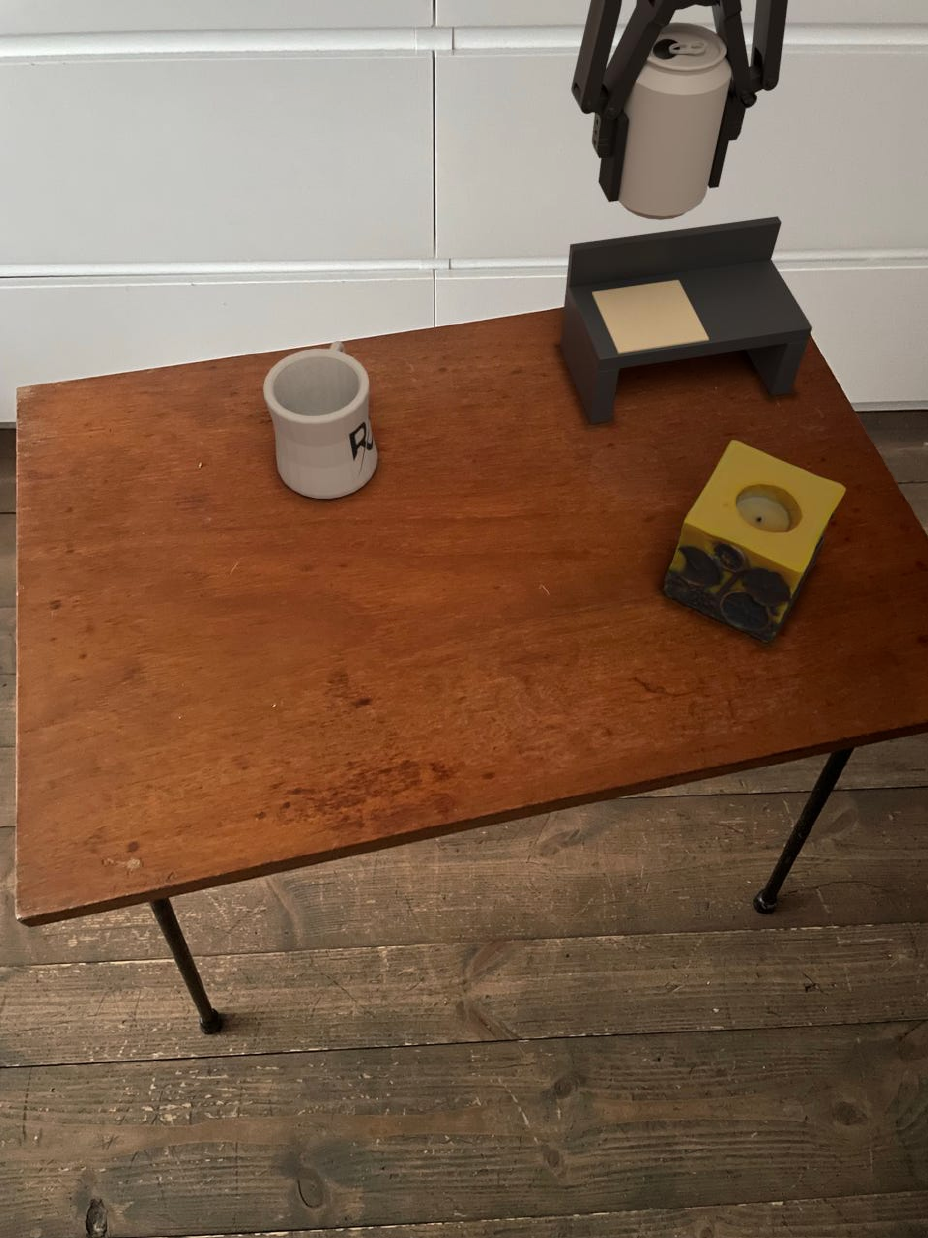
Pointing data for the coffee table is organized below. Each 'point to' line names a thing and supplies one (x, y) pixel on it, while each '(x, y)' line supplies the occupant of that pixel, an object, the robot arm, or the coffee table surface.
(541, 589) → the coffee table surface
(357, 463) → the mug
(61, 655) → the coffee table surface
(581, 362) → the shelf
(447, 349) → the coffee table surface
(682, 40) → the can
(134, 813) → the coffee table surface
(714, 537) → the candle
